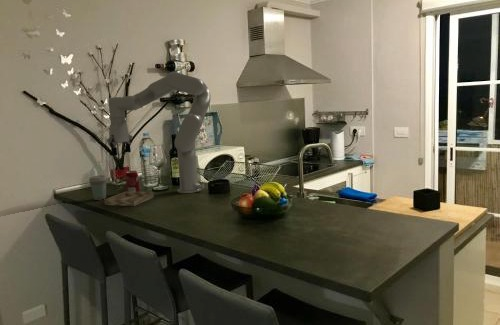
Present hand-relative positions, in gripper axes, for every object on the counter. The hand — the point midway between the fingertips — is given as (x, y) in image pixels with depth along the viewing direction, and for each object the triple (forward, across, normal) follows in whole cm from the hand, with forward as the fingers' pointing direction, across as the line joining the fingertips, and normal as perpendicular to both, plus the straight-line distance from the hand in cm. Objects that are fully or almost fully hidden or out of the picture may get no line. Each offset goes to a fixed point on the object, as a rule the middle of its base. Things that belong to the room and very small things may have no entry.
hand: (121, 153), depth 219 cm
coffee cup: (+23, +11, -7) cm, 26 cm away
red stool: (+23, -5, 0) cm, 23 cm away
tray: (+22, +10, +12) cm, 27 cm away
